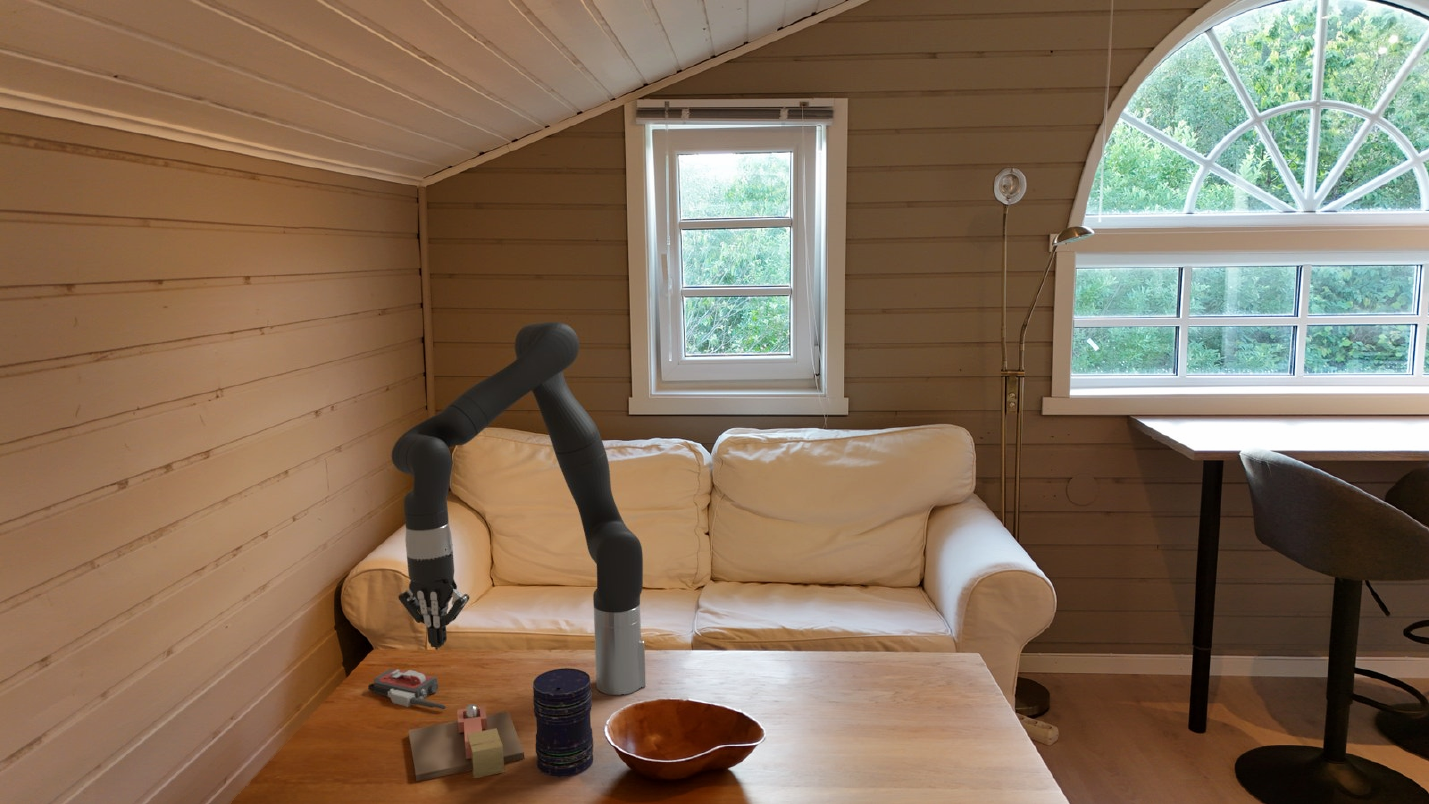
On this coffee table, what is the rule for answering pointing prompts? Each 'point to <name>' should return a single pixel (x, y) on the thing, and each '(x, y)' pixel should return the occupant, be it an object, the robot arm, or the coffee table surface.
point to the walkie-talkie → (406, 687)
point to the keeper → (486, 753)
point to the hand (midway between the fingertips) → (438, 645)
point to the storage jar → (563, 722)
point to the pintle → (471, 711)
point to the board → (457, 746)
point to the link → (471, 725)
